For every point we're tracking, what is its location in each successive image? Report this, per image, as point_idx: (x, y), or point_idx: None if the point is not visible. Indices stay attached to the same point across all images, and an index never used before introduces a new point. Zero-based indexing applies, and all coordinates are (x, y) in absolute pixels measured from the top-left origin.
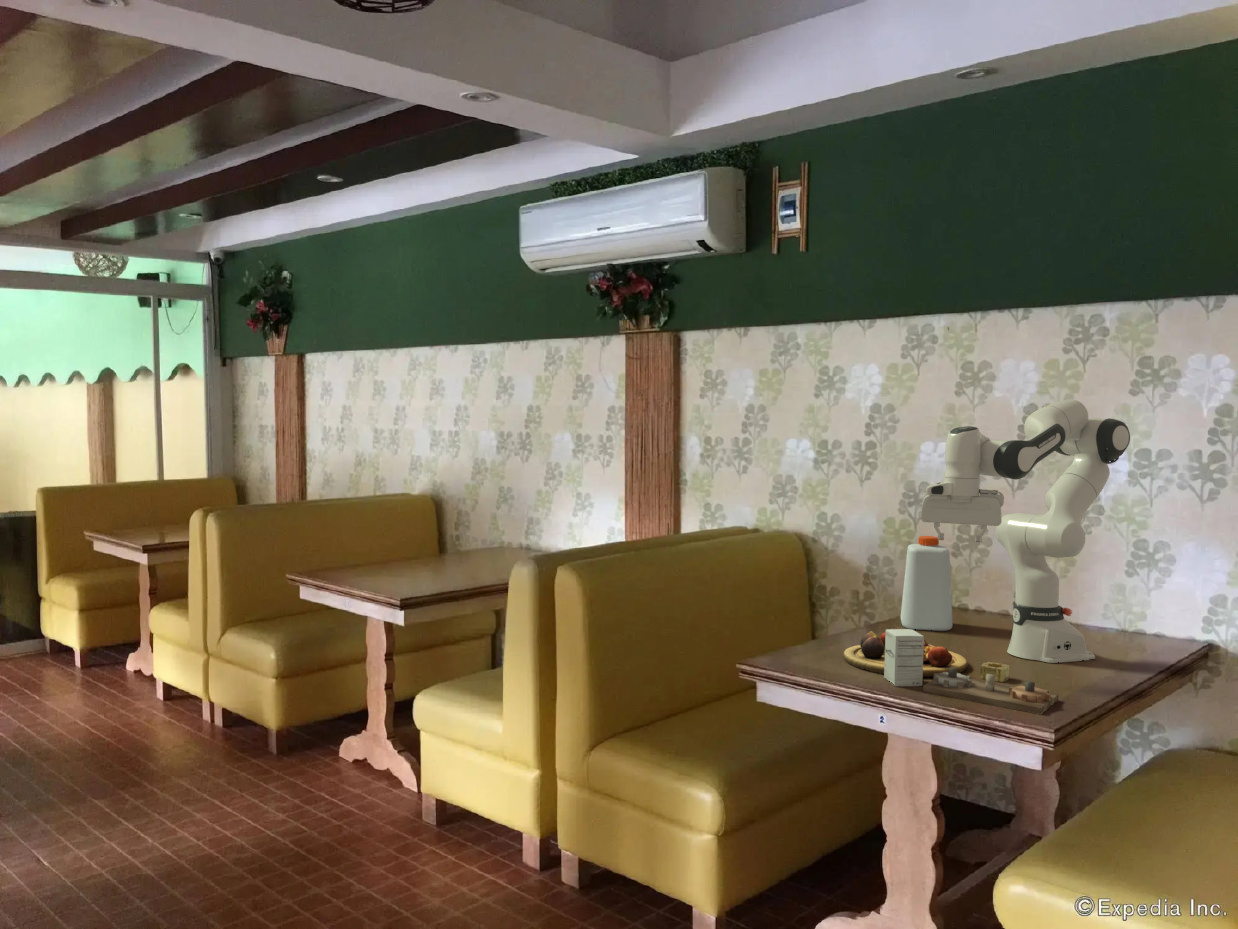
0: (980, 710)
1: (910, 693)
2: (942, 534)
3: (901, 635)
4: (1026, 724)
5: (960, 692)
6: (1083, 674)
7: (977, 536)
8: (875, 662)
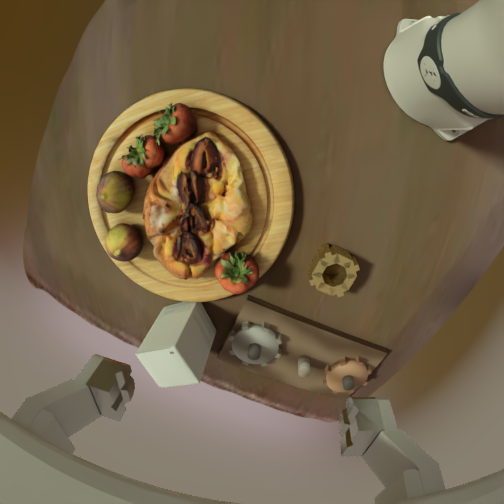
0: (281, 396)
1: None
2: (113, 414)
3: (166, 385)
4: (319, 417)
5: (263, 375)
6: (470, 204)
7: (350, 451)
8: (139, 265)
